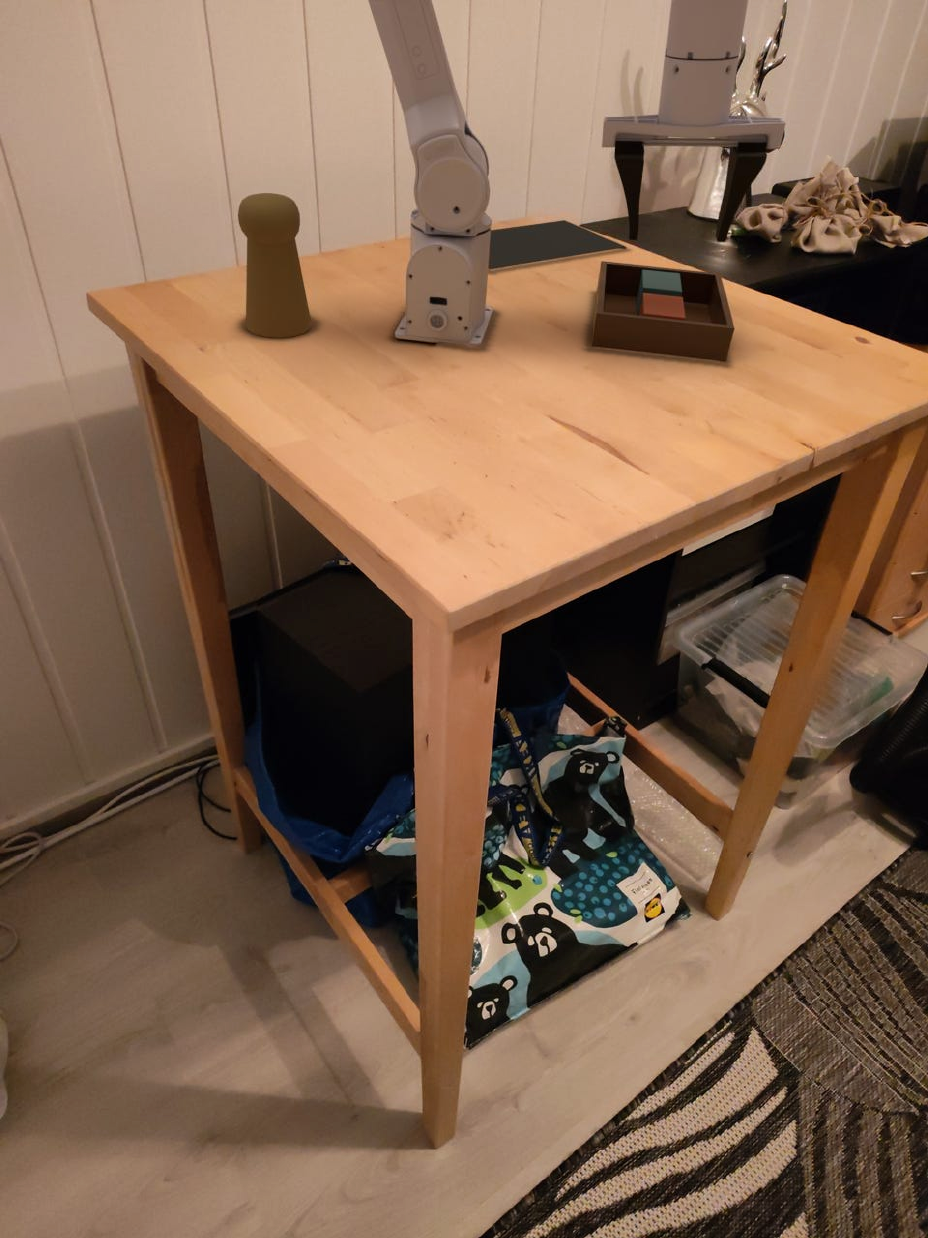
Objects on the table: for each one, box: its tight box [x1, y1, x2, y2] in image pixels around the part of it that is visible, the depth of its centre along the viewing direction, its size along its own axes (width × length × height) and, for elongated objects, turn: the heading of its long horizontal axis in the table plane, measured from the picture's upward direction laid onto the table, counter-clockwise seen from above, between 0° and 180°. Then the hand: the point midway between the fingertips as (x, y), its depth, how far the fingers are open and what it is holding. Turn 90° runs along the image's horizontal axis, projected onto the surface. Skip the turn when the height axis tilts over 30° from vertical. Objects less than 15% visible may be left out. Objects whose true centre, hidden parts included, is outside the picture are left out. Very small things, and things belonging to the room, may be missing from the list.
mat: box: [488, 219, 627, 270], centre depth 100 cm, size 12×20×1 cm, turn 123°
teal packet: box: [637, 270, 682, 316], centre depth 83 cm, size 6×4×3 cm
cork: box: [237, 192, 313, 339], centre depth 74 cm, size 6×6×11 cm
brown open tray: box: [590, 260, 735, 362], centre depth 81 cm, size 15×12×3 cm
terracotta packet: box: [639, 293, 686, 321], centre depth 78 cm, size 6×4×3 cm
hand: (676, 237), depth 75 cm, fingers open, 7 cm apart
